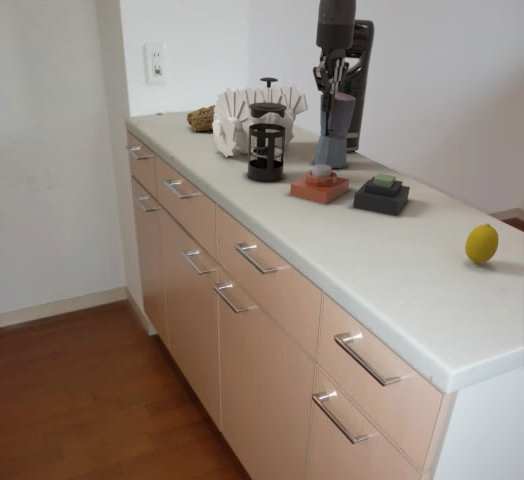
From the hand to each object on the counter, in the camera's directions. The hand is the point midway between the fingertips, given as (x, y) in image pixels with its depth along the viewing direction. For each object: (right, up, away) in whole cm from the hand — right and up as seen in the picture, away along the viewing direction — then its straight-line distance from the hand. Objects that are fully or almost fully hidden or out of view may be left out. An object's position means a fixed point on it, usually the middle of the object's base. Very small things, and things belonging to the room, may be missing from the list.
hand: (327, 111), depth 122 cm
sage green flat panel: (+13, -15, +3) cm, 20 cm away
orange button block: (-1, -15, +11) cm, 18 cm away
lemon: (+26, -37, -18) cm, 49 cm away
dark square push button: (+13, -19, +6) cm, 24 cm away
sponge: (-29, +20, +58) cm, 68 cm away
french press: (-14, -8, +19) cm, 25 cm away
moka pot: (+4, -3, +29) cm, 29 cm away
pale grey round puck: (-1, -12, +8) cm, 14 cm away
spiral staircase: (-17, +4, +37) cm, 40 cm away
